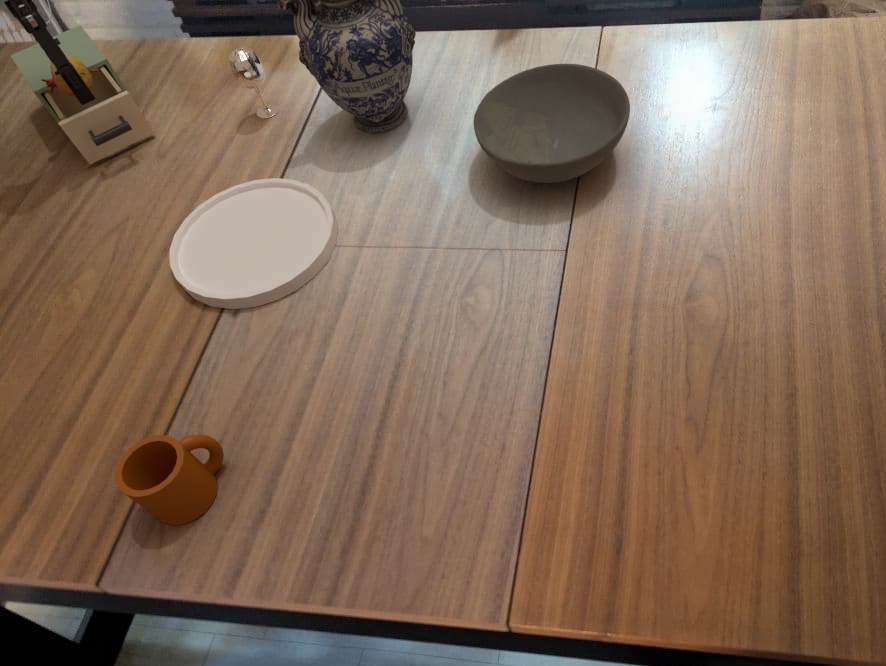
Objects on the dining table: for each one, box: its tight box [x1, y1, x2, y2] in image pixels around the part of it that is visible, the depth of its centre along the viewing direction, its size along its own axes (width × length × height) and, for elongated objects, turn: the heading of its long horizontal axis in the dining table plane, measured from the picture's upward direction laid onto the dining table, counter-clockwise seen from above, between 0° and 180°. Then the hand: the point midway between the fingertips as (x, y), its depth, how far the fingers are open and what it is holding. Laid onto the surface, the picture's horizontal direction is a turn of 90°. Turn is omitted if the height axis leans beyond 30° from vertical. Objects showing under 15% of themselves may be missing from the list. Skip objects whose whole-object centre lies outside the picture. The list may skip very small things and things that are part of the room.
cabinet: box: [10, 24, 134, 124], centre depth 143 cm, size 17×15×11 cm
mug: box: [114, 434, 225, 526], centre depth 93 cm, size 9×12×9 cm
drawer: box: [43, 65, 155, 165], centre depth 136 cm, size 20×13×9 cm
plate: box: [168, 177, 339, 310], centre depth 120 cm, size 28×28×2 cm
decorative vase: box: [276, 0, 417, 134], centre depth 125 cm, size 21×19×28 cm
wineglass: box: [228, 47, 280, 120], centre depth 136 cm, size 6×6×12 cm
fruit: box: [41, 56, 101, 97], centre depth 130 cm, size 7×7×10 cm
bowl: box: [473, 63, 631, 184], centre depth 122 cm, size 26×26×10 cm
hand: (81, 91), depth 133 cm, fingers closed on fruit, 7 cm apart
